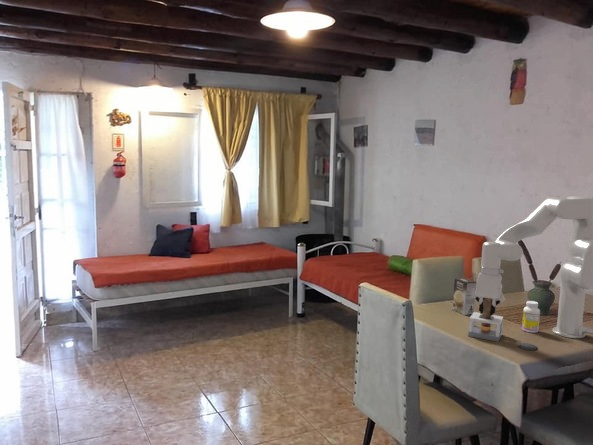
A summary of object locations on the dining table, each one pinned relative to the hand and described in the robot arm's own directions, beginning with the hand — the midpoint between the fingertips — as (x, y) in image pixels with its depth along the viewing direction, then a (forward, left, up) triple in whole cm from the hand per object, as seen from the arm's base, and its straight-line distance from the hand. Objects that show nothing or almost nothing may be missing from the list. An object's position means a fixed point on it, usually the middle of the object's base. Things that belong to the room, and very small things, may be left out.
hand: (486, 313), depth 220 cm
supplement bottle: (-16, -18, -10) cm, 26 cm away
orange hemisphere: (0, 0, -7) cm, 7 cm away
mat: (-17, +5, -10) cm, 20 cm away
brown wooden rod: (0, 0, -5) cm, 5 cm away
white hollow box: (0, 0, -10) cm, 10 cm away
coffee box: (+15, -30, -10) cm, 35 cm away
